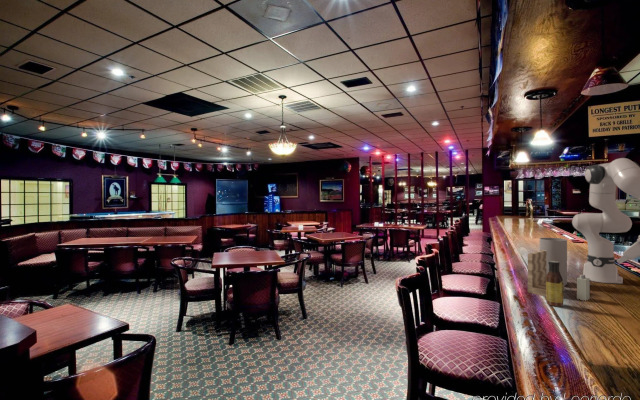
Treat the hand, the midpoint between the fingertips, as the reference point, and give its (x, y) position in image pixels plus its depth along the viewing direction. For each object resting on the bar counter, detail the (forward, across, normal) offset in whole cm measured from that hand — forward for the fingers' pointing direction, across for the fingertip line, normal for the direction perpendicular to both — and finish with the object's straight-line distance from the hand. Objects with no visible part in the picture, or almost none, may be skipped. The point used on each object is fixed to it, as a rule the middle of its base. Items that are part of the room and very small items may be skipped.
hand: (621, 261), depth 140 cm
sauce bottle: (+28, +20, +2) cm, 35 cm away
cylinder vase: (+37, -20, -9) cm, 43 cm away
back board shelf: (+34, +2, -6) cm, 35 cm away
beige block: (+24, 0, +5) cm, 24 cm away
